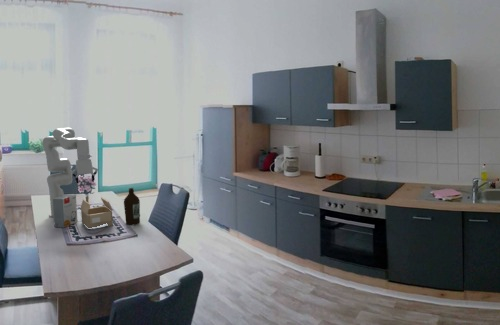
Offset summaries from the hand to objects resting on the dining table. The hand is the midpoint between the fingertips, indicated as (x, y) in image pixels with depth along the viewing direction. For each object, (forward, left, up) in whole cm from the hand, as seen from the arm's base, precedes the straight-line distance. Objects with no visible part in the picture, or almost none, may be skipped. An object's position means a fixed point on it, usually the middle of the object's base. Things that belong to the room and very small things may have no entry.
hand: (85, 182), depth 271 cm
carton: (-1, +6, -31) cm, 31 cm away
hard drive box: (-15, -11, -31) cm, 36 cm away
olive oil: (+11, +27, -31) cm, 43 cm away
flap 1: (-1, -1, -17) cm, 17 cm away
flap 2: (-1, +13, -17) cm, 21 cm away
